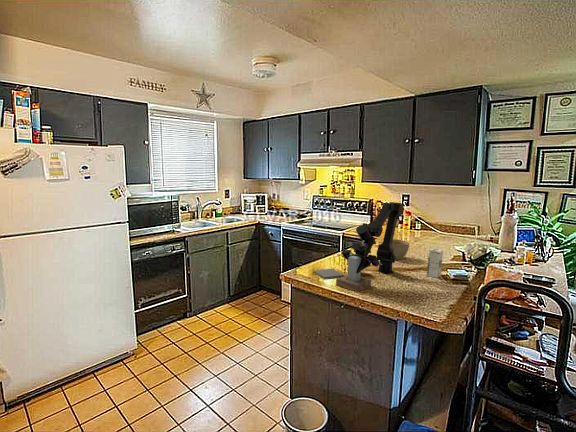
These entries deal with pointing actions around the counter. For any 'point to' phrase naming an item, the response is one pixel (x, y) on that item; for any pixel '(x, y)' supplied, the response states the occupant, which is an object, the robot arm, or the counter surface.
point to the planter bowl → (400, 248)
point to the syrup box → (434, 263)
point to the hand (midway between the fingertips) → (352, 271)
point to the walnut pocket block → (353, 283)
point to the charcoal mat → (328, 273)
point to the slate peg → (353, 268)
